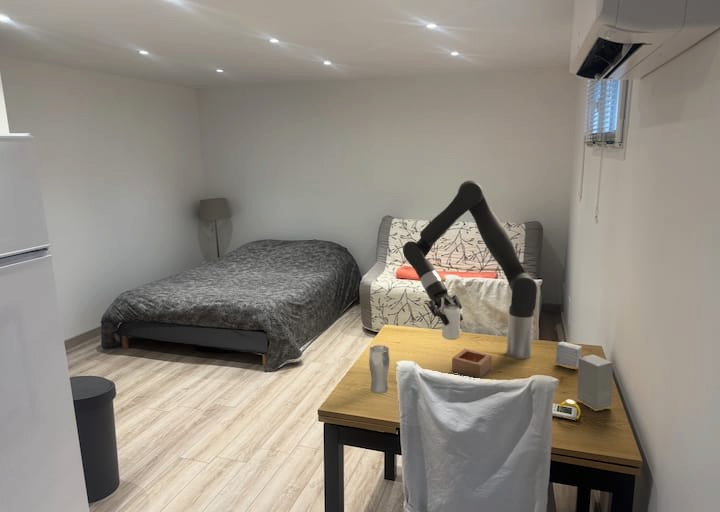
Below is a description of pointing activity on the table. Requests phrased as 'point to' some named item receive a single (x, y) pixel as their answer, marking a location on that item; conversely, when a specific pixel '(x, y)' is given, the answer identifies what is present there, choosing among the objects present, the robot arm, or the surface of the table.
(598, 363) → the skincare box
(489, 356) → the box
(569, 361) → the medicine box
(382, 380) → the beer glass
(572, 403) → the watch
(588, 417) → the table surface
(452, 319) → the can
